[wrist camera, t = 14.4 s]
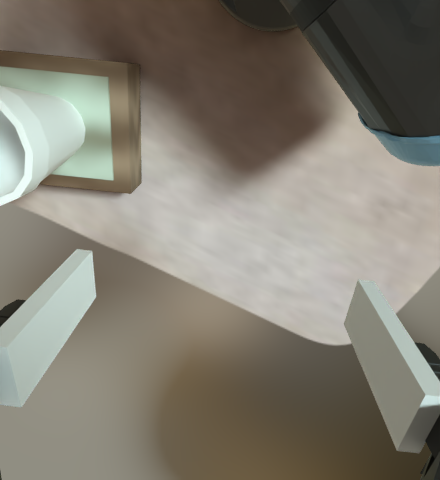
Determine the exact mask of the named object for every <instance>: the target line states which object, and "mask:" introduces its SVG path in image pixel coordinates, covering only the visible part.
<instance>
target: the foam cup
mask: <svg viewBox="0 0 440 480" xmlns="http://www.w3.org/2000/svg"><path fill="white" fill-rule="evenodd" d="M84 138H85V126H84V123H83V119H82V116H81V115H80V113H79V112H78V111H77V110H76V108H75V107H74V106H73V105H72V104H71V103H69V102H67V101H66V100H64V99H62V98H60V97H57V96H52V95H47V94H42V93H36V92H31V91H26V90H20V89H15V88H10V87H5V86H0V206H1V205H3V204H6V203H8V202H10V201H13V200H15V199H17V198H20V197H22V196H24V195H25V194H27V193H29V192H31V191H33V190H35V189H36V188H37V186H38V185H39V184H40V182H41V181H42V180H43V179H45V178H46V177H47V176H48V175H49V174H51V173H52V172H53V171H54V170H55V169H57V168H58V167H59V166H60V165H61V164H63V163H64V162H65V161H66V160H67V159H69V158H70V157H71V156H72V155H73V154H75V153H76V151H78V150H79V148H80V147H81V145H82V144H83V142H84Z"/></svg>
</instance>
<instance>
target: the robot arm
mask: <svg viewBox="0 0 440 480" xmlns="http://www.w3.org/2000/svg"><path fill="white" fill-rule="evenodd" d="M219 1H220V3H221V4H222V6H223V7H224V8H225V9H226V10H227V11H228V12H229V13H230V14H231V15H232V16H233V17H234V18H236V19H237V20H238V21H240V22H241V23H243V24H245V25H247V26H249V27H252V28H255V29H258V30H263V31H283V30H288V29H291V28H294V27H297V26H298V27H299V28H300V30H301V31H302V33H303V35H304V36H305V38H306V39H307V41H308V42H309V43H310V45H311V46H312V48H313V49H314V50H315V52H316V53H317V55H318V56H319V57H320V59H321V60H322V62H323V63H324V64H325V66H326V67H327V69H328V70H329V71H330V73H331V74H332V76H333V77H334V78H335V80H336V81H337V83H338V84H339V85H340V87H341V88H342V90H343V91H344V92H345V94H346V95H347V97H348V98H349V99H350V101H351V102H352V104H353V105H354V106H355V108H356V109H357V111H358V116H359V119H360V121H361V122H362V124H363V125H364V127H365V128H366V129H368V130H369V131H370V132H371V133H373V134H375V136H376V137H377V138H378V139H379V141H380V142H381V143H382V145H383V146H384V147H385V148H386V149H387V151H388V152H389V153H390V154H392V155H393V156H395V157H397V158H398V159H400V160H402V161H404V162H407V163H411V164H415V165H422V166H440V0H219ZM95 298H96V290H95V279H94V267H93V255H92V251H88V250H79V249H77V250H76V251H75V252H74V253H73V254H72V255H71V256H70V257H69V258H68V259H67V260H66V261H65V262H64V263H63V264H62V265H61V266H60V267H59V268H58V269H57V270H56V271H55V272H54V273H53V274H52V275H51V276H50V277H49V278H48V279H47V280H46V281H45V282H44V283H43V284H42V285H41V286H40V287H39V288H38V289H37V290H36V292H34V293H33V294H32V295H31V296H30V297H29V298H28V299H27V300H26V301H25V300H16V301H14V302H12V303H10V304H8V305H7V306H5V307H4V308H3V309H2V310H0V405H7V406H15V407H22V406H23V404H24V403H25V401H26V400H27V398H28V397H29V395H30V394H31V392H32V391H33V389H34V388H35V386H36V385H37V383H38V382H39V381H40V379H41V378H42V376H43V375H44V373H45V372H46V370H47V369H48V367H49V366H50V364H51V363H52V361H53V360H54V358H55V357H56V355H57V354H58V352H59V351H60V350H61V348H62V346H63V345H64V344H65V342H66V341H67V339H68V337H69V336H70V334H71V333H72V332H73V330H74V329H75V327H76V326H77V324H78V323H79V321H80V320H81V318H82V317H83V316H84V314H85V312H86V311H87V310H88V308H89V307H90V305H91V304H92V302H93V301H94V299H95ZM344 325H345V328H346V330H347V333H348V335H349V337H350V340H351V342H352V344H353V347H354V349H355V351H356V354H357V356H358V359H359V361H360V363H361V366H362V368H363V371H364V373H365V375H366V378H367V380H368V383H369V385H370V387H371V390H372V392H373V395H374V397H375V399H376V402H377V404H378V407H379V409H380V411H381V413H382V416H383V418H384V420H385V423H386V426H387V428H388V430H389V433H390V435H391V438H392V440H393V442H394V444H395V447H396V449H397V451H405V452H413V453H420V451H421V449H422V448H423V446H424V444H425V442H426V443H427V445H428V447H429V449H430V451H431V453H432V454H431V456H430V457H429V459H428V461H427V463H426V464H425V466H424V468H423V469H422V471H421V474H422V477H421V480H440V359H439V358H438V356H437V355H436V353H434V352H433V351H432V350H431V349H430V348H428V347H427V346H426V345H425V344H422V343H414V342H413V340H412V339H411V337H410V336H409V334H408V333H407V331H406V329H405V328H404V326H403V325H402V323H401V322H400V320H399V319H398V317H397V316H396V314H395V313H394V311H393V310H392V308H391V307H390V305H389V304H388V302H387V301H386V299H385V298H384V296H383V294H382V293H381V291H380V290H379V288H378V287H377V285H376V284H375V282H374V281H366V280H358V282H357V285H356V288H355V291H354V294H353V297H352V300H351V304H350V307H349V310H348V313H347V316H346V319H345V322H344ZM0 480H2V479H1V473H0Z"/></svg>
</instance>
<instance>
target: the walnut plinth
mask: <svg viewBox="0 0 440 480" xmlns="http://www.w3.org/2000/svg"><path fill="white" fill-rule="evenodd" d="M0 86H5V87H10V88H15V89H20V90H26V91H31V92H36V93H42V94H47V95H52V96H57V97H60V98H62V99H64V100H66V101H67V102H69V103H71V104H72V105H73V106H74V107H75V108H76V110H77V111H78V112H79V113H80V115H81V116H82V119H83V123H84V126H85V138H84V142H83V144H82V145H81V147H80V148H79V150H78V151H76V153H75V154H73V155H72V156H71V157H70V158H69V159H67V160H66V161H65V162H64V163H63V164H61V165H60V166H59V167H58V168H57V169H55V170H54V171H53V172H52V173H51V174H49V175H48V176H47V177H46V178H45V179H43V180H42V181H41V182H40V184H43V185H52V186H62V187H72V188H81V189H91V190H100V191H110V192H119V193H129V194H131V193H132V192H133V191H134V190H135V189H136V188H137V187H138V186H139V185H140V184H141V115H140V65H138V64H132V63H124V62H114V61H104V60H94V59H83V58H73V57H63V56H53V55H43V54H33V53H22V52H12V51H2V50H0Z"/></svg>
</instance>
